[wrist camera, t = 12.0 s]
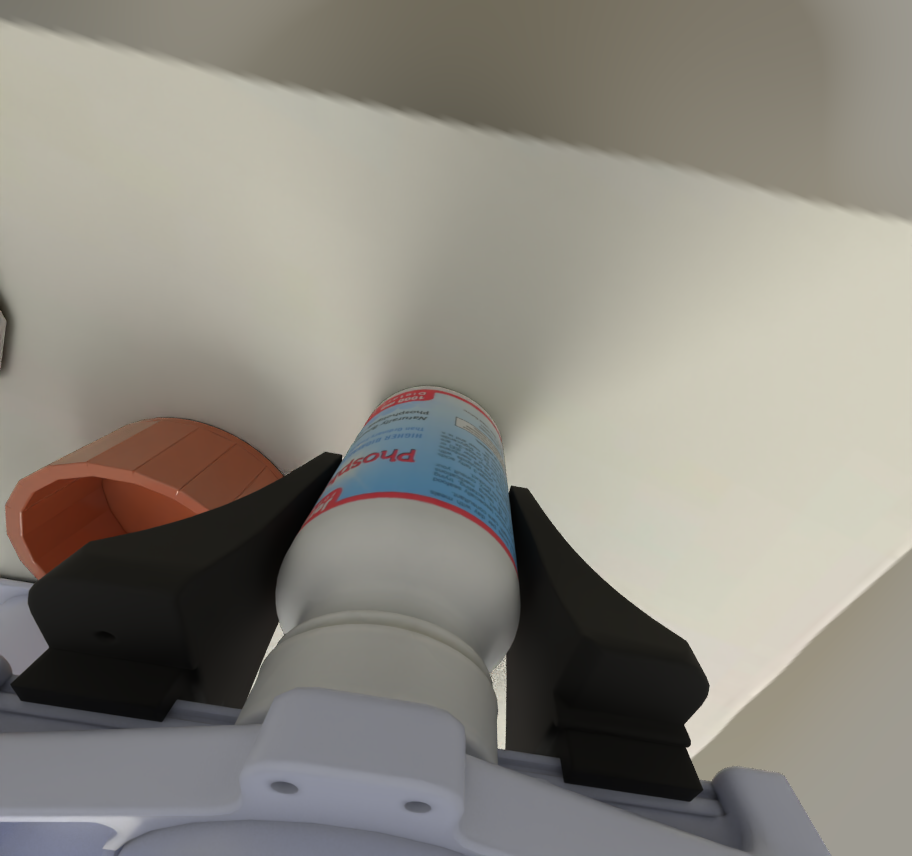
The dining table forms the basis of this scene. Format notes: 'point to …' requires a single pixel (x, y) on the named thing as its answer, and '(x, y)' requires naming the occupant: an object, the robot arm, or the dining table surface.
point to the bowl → (129, 487)
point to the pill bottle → (404, 569)
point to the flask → (2, 334)
